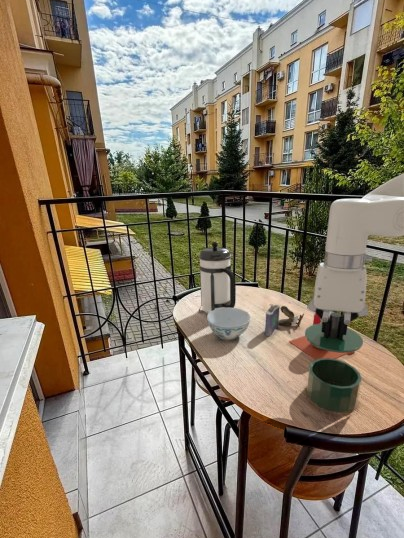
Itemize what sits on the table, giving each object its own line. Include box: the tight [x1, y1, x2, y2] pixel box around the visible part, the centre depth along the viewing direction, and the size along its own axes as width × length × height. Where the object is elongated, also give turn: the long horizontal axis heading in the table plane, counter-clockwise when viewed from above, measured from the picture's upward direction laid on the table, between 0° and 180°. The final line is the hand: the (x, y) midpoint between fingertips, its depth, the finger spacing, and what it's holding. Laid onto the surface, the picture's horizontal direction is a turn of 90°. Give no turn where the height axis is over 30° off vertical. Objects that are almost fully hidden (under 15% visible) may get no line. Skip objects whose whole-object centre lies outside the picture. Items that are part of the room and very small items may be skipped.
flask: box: [264, 303, 281, 337], centre depth 100 cm, size 9×3×11 cm, turn 146°
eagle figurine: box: [278, 305, 305, 328], centre depth 105 cm, size 8×7×9 cm
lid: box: [304, 312, 364, 353], centre depth 65 cm, size 12×12×7 cm
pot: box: [306, 358, 363, 413], centre depth 69 cm, size 11×11×7 cm
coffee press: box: [198, 241, 237, 314], centre depth 112 cm, size 17×16×30 cm
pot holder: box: [288, 335, 356, 360], centre depth 90 cm, size 14×14×1 cm
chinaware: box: [206, 307, 251, 341], centre depth 98 cm, size 15×15×8 cm
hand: (333, 335), depth 66 cm, fingers closed on lid, 2 cm apart
